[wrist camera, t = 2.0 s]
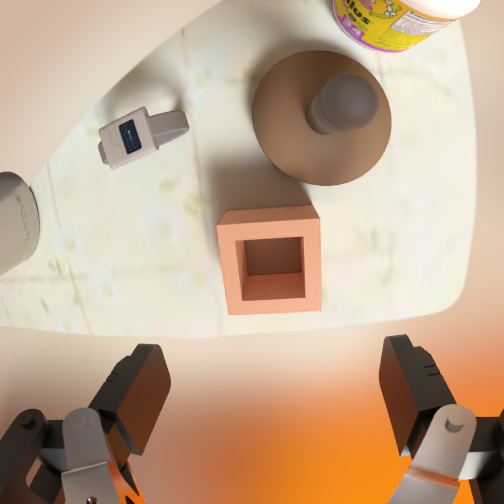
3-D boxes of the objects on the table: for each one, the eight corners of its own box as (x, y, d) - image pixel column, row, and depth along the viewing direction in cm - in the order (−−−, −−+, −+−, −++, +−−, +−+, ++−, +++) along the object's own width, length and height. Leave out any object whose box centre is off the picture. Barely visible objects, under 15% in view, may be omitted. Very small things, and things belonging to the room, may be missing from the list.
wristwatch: (127, 171, 22) (91, 180, 17) (116, 137, 21) (78, 139, 16) (202, 140, 20) (180, 139, 16) (189, 104, 20) (165, 94, 15)
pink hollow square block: (236, 288, 24) (228, 315, 20) (226, 210, 22) (216, 225, 18) (315, 283, 23) (321, 310, 20) (312, 205, 21) (319, 218, 18)
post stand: (260, 186, 21) (245, 223, 12) (248, 60, 18) (223, 0, 9) (387, 181, 20) (460, 212, 11) (376, 58, 17) (440, 8, 8)
